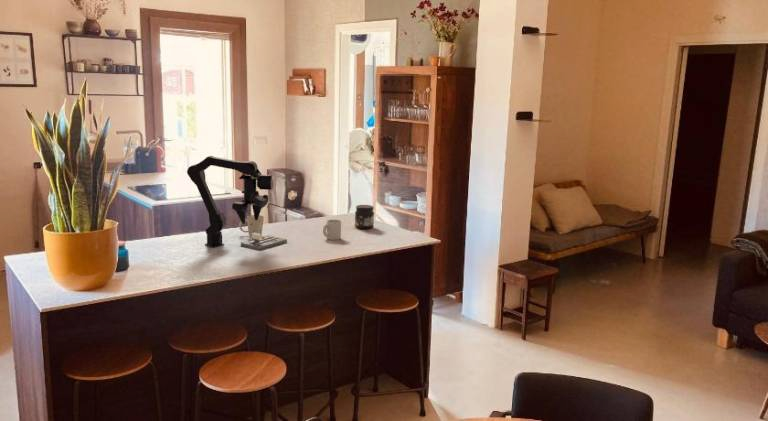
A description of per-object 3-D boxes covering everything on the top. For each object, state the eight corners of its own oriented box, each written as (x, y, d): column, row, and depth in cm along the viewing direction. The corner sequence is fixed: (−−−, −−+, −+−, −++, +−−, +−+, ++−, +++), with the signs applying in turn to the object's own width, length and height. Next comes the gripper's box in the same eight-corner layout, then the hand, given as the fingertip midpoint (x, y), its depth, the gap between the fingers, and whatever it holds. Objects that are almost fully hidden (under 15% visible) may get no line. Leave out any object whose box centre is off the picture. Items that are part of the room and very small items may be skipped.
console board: (259, 250, 280) (259, 245, 279) (240, 245, 286) (240, 241, 286) (286, 242, 296) (287, 238, 295) (268, 238, 302) (268, 234, 301)
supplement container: (353, 225, 337) (354, 204, 335) (371, 225, 339) (372, 204, 337) (355, 230, 327) (356, 208, 325) (375, 230, 329) (376, 208, 326)
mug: (261, 238, 300) (261, 219, 298) (236, 237, 301) (236, 217, 299) (265, 234, 309) (265, 215, 307) (240, 233, 309) (240, 214, 307)
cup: (343, 238, 307) (344, 221, 305) (326, 241, 301) (327, 223, 299) (335, 235, 313) (335, 219, 311) (319, 238, 306) (319, 221, 305)
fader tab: (258, 244, 284) (258, 234, 283) (251, 242, 287) (251, 233, 286) (261, 243, 286) (261, 233, 285) (254, 241, 288) (254, 232, 287)
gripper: (250, 193, 267) (250, 228, 270) (276, 188, 284) (276, 220, 287) (231, 190, 272) (231, 224, 275) (257, 185, 288) (257, 217, 292)
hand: (250, 221), depth 282 cm, fingers open, 9 cm apart
